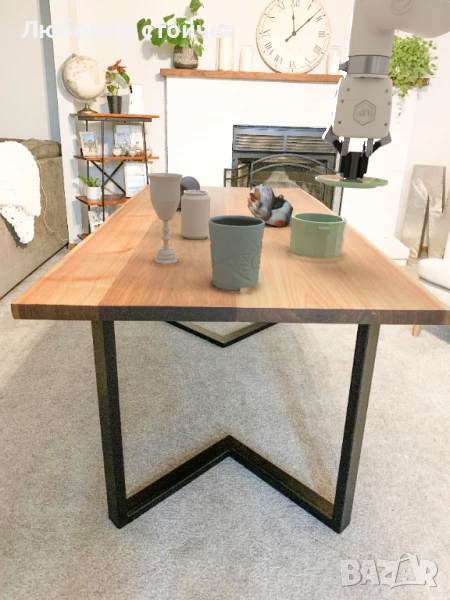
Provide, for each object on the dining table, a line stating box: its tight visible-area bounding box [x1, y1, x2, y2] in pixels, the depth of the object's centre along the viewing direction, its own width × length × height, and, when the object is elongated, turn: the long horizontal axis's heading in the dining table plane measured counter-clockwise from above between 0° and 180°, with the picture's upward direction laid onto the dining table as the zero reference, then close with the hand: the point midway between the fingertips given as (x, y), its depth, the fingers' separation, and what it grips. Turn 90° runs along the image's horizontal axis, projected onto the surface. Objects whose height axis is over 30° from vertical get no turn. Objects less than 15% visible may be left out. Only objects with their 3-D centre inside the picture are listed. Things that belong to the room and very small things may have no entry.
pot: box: [287, 212, 348, 259], centre depth 105 cm, size 13×18×8 cm
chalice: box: [146, 172, 184, 265], centre depth 93 cm, size 7×7×18 cm
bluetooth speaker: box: [177, 176, 201, 209], centre depth 160 cm, size 23×9×10 cm, turn 174°
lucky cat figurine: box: [246, 182, 294, 228], centre depth 135 cm, size 15×12×14 cm
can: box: [180, 189, 211, 240], centre depth 115 cm, size 8×8×12 cm
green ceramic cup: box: [208, 214, 266, 292], centre depth 81 cm, size 10×10×12 cm
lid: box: [314, 150, 389, 190], centre depth 84 cm, size 14×14×6 cm
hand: (351, 176), depth 85 cm, fingers closed on lid, 2 cm apart
